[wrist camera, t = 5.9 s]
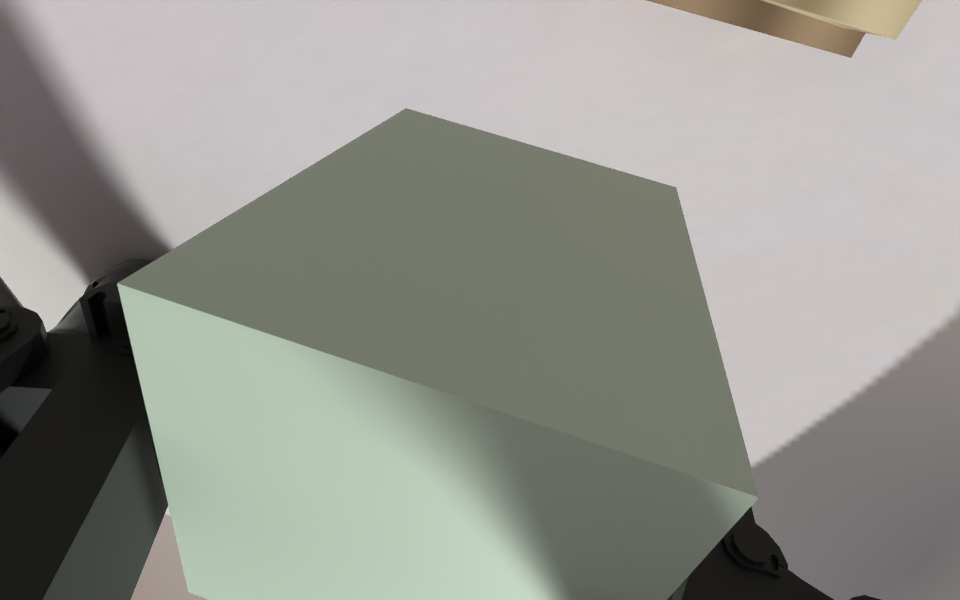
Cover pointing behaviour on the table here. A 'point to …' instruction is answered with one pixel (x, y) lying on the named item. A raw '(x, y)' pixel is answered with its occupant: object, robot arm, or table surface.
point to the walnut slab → (774, 22)
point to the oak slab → (857, 13)
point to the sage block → (440, 381)
